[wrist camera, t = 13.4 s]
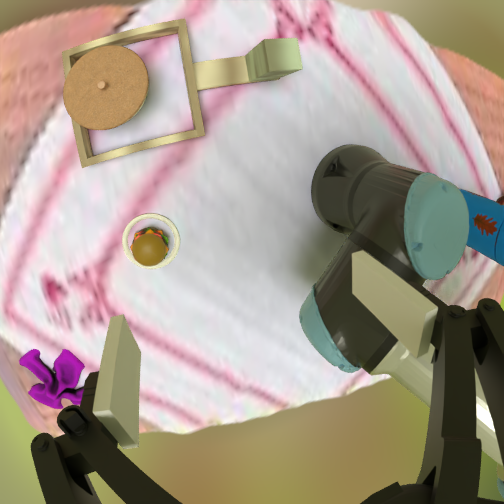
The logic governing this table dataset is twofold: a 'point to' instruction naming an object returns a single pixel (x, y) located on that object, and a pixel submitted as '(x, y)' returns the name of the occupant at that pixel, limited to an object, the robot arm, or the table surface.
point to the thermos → (485, 226)
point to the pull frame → (190, 77)
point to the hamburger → (150, 244)
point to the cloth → (55, 378)
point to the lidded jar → (106, 87)
